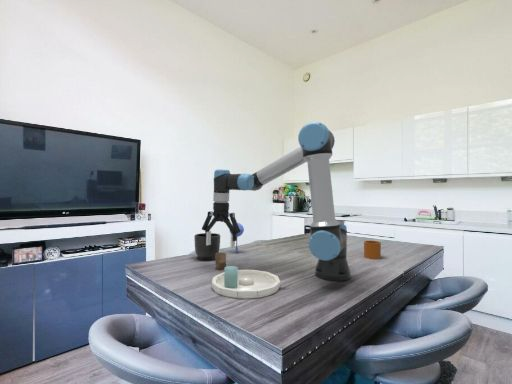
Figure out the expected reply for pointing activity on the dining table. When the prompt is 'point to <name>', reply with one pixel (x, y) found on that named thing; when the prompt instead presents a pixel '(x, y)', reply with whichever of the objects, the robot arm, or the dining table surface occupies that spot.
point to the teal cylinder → (230, 277)
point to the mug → (372, 249)
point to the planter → (207, 246)
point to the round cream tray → (248, 284)
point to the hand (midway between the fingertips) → (220, 246)
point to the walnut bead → (220, 261)
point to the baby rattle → (238, 234)
